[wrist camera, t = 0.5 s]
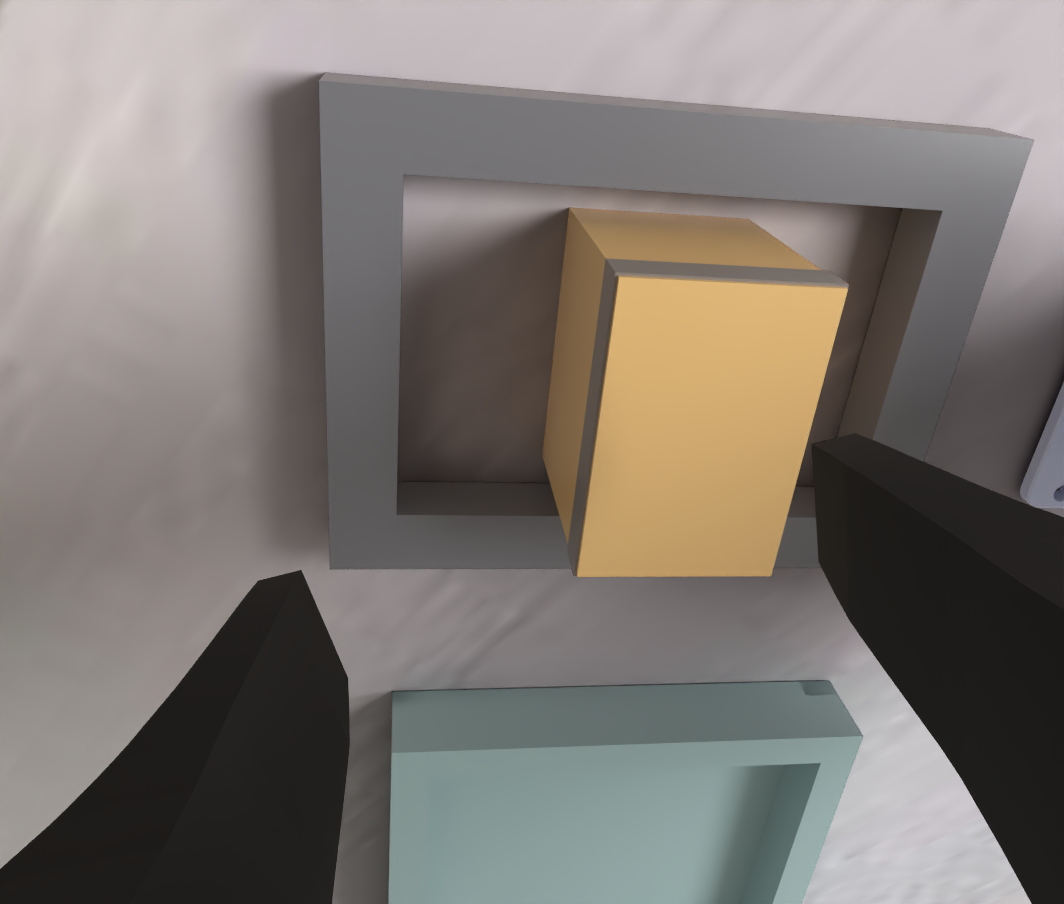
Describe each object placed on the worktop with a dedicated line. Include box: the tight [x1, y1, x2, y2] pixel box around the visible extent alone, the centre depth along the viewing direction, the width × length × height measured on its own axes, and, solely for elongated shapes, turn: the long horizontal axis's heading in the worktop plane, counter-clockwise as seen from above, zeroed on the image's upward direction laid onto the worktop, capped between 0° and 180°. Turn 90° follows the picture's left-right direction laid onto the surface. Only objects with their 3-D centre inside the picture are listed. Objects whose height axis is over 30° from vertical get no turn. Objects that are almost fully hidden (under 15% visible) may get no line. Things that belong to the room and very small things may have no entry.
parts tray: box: [388, 681, 863, 904], centre depth 27 cm, size 13×13×2 cm
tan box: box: [542, 208, 849, 577], centre depth 18 cm, size 4×6×5 cm
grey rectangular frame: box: [319, 73, 1034, 569], centre depth 19 cm, size 14×10×2 cm
